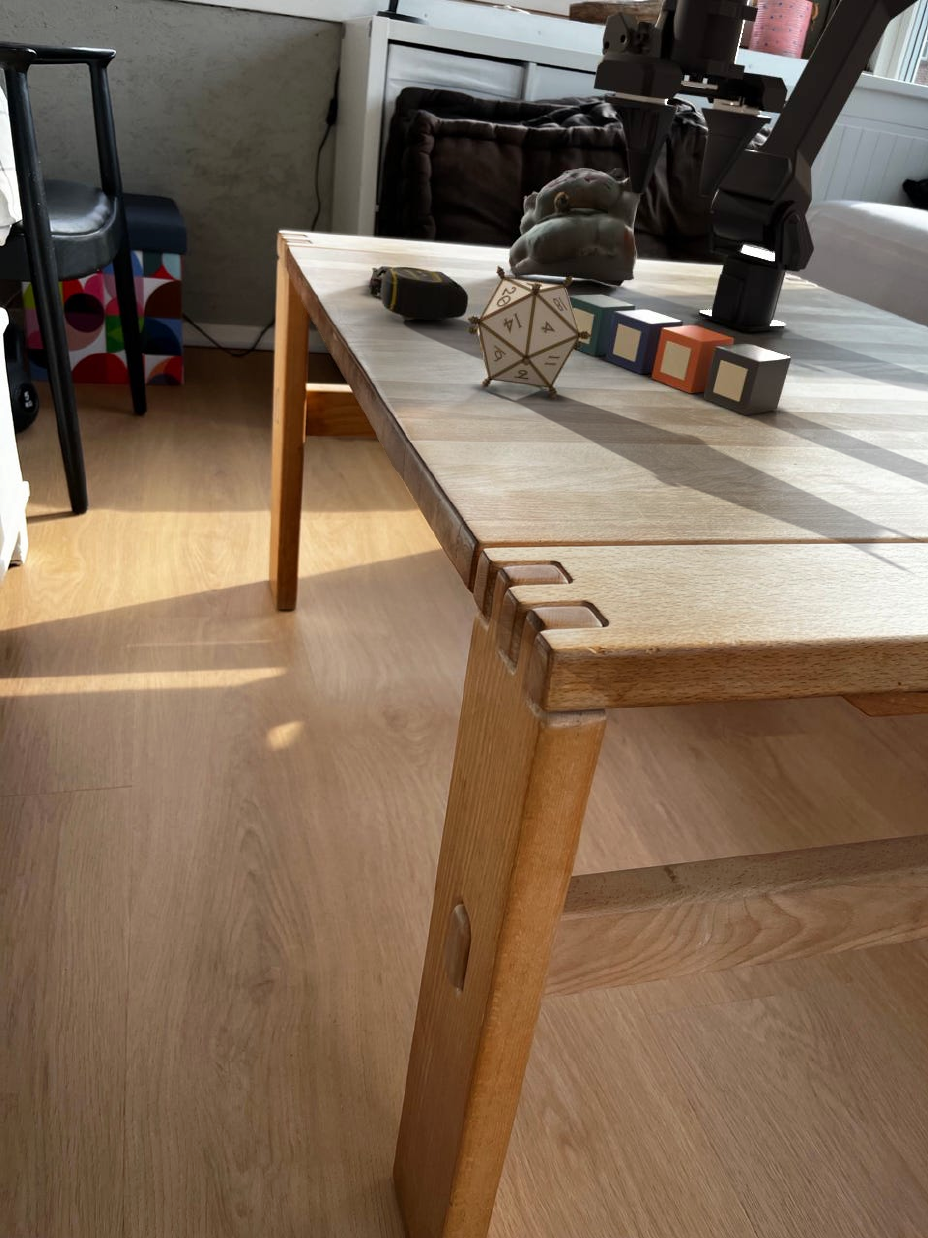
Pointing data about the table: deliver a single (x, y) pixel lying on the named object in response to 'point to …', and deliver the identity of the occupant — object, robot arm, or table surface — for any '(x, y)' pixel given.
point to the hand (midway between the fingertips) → (672, 194)
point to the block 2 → (637, 339)
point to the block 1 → (596, 320)
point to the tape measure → (422, 294)
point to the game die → (527, 332)
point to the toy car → (377, 279)
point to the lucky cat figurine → (579, 228)
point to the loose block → (687, 356)
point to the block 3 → (746, 378)
